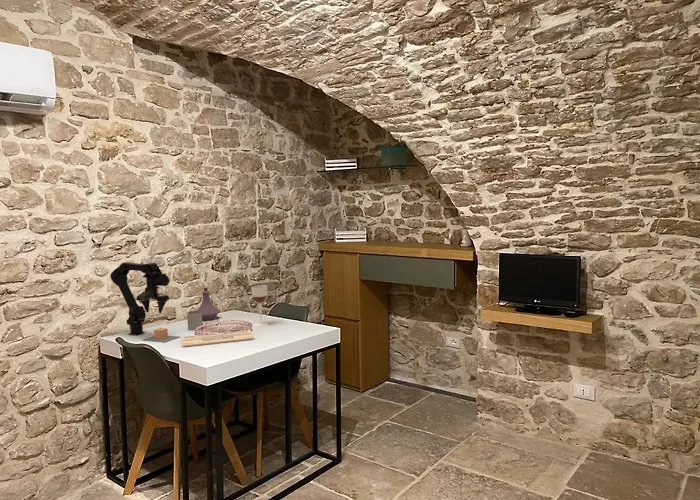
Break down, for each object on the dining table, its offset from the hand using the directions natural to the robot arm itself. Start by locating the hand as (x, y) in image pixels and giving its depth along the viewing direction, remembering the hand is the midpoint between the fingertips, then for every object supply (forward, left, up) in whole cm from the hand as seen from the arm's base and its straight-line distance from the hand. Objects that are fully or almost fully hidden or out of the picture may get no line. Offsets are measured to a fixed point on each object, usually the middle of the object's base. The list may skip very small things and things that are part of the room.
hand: (153, 312), depth 312 cm
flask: (+1, +45, -13) cm, 47 cm away
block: (+9, -5, -13) cm, 16 cm away
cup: (+12, +20, -13) cm, 27 cm away
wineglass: (+44, +41, -13) cm, 62 cm away
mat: (+9, -5, -13) cm, 17 cm away
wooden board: (+42, +2, -14) cm, 44 cm away
